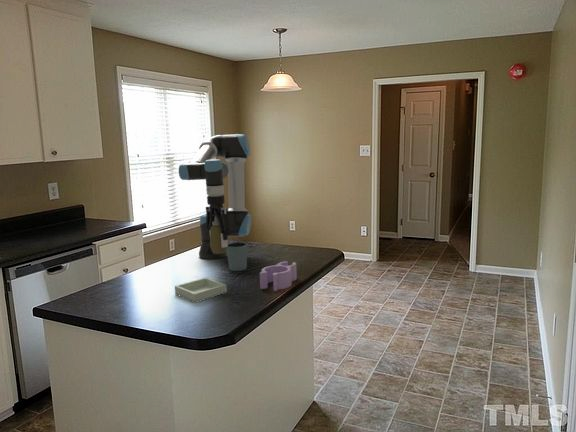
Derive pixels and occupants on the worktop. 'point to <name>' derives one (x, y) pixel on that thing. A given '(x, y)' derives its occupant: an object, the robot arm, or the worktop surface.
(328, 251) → the worktop surface
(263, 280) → the clip
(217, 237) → the squeeze bottle
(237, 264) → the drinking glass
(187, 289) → the tray
